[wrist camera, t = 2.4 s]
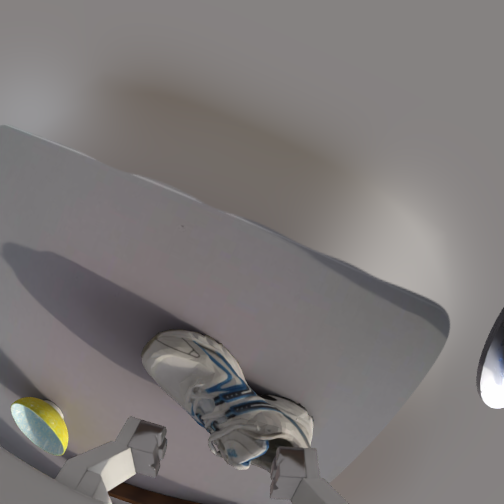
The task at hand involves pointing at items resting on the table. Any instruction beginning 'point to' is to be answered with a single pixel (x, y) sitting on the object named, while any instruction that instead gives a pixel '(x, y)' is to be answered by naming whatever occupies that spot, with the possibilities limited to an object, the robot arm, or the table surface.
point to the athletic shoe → (225, 399)
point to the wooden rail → (143, 496)
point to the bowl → (41, 424)
